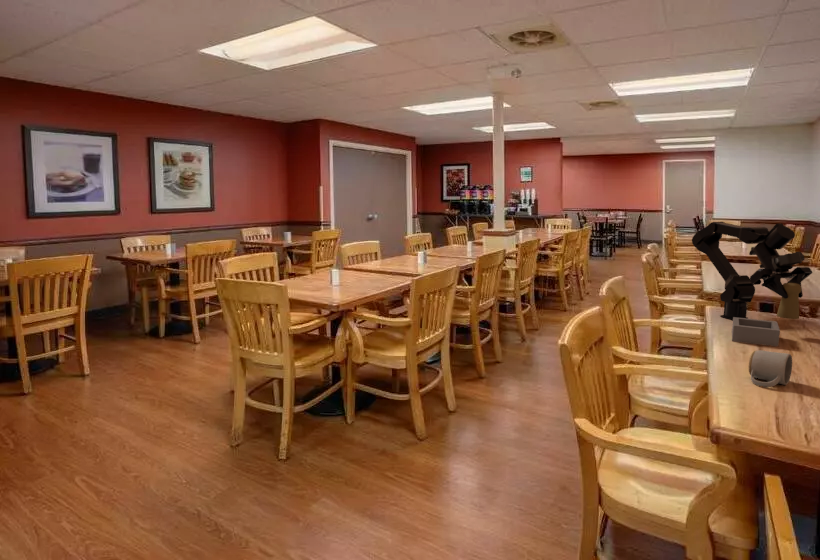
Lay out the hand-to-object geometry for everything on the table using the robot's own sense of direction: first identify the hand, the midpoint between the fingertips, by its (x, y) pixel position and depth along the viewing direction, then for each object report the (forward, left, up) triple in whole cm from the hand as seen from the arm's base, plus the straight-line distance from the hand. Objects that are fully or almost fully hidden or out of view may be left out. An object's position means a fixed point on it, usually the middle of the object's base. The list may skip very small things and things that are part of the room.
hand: (794, 297), depth 171 cm
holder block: (-2, -13, -13) cm, 18 cm away
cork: (-1, 0, -7) cm, 7 cm away
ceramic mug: (+25, -43, -13) cm, 52 cm away
